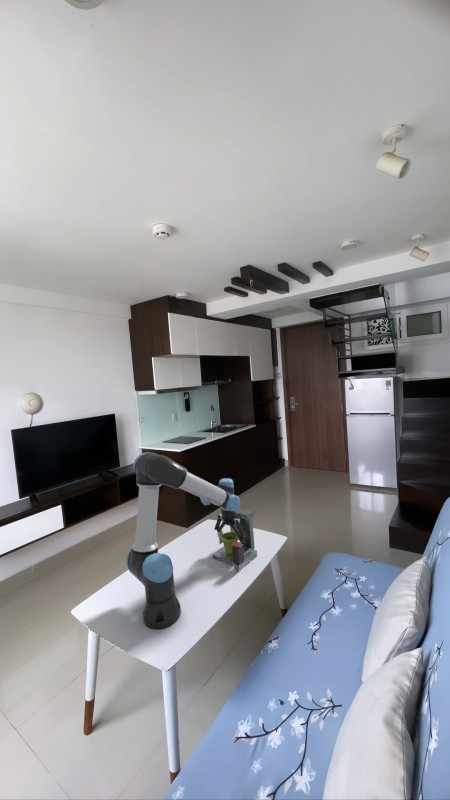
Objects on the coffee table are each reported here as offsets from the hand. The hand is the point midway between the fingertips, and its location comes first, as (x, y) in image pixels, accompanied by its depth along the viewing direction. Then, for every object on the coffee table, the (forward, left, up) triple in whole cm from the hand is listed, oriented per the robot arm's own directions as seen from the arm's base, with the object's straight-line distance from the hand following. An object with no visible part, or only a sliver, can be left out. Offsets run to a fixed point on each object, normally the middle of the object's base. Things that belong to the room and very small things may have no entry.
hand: (230, 546), depth 172 cm
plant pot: (0, 0, -3) cm, 3 cm away
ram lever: (-8, -11, -1) cm, 14 cm away
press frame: (+2, -3, -5) cm, 6 cm away
